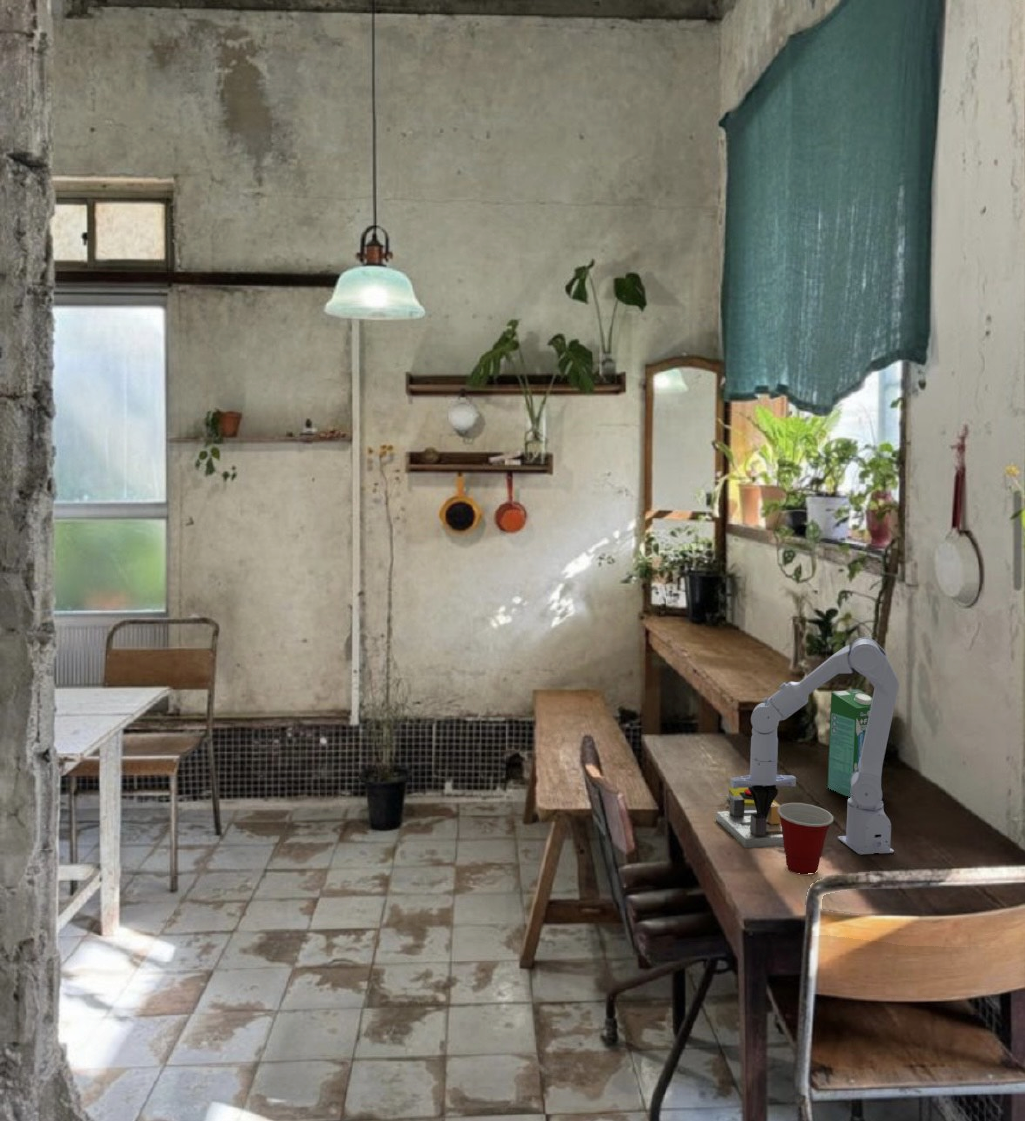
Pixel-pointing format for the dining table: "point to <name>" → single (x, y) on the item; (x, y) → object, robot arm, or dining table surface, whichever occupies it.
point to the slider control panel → (749, 826)
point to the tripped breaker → (773, 814)
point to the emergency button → (744, 797)
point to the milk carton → (846, 736)
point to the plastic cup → (803, 835)
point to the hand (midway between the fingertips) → (761, 818)
